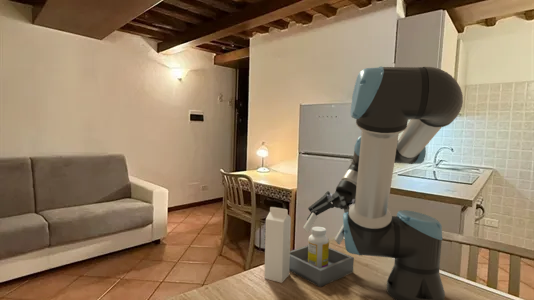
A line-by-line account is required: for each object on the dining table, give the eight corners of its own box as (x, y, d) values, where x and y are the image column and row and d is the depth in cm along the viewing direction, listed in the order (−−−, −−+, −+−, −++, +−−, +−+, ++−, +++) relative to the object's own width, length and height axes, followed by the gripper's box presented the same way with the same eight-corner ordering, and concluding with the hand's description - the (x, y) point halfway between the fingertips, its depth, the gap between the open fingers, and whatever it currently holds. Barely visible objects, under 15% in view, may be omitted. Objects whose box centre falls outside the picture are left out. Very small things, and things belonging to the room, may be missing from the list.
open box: (353, 272, 106) (353, 257, 106) (319, 287, 96) (320, 270, 96) (316, 255, 119) (317, 242, 118) (283, 267, 109) (284, 252, 108)
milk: (272, 270, 106) (274, 204, 104) (289, 275, 104) (291, 207, 102) (264, 278, 101) (265, 208, 99) (282, 283, 98) (283, 211, 96)
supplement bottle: (327, 262, 111) (328, 225, 109) (328, 271, 104) (330, 232, 103) (307, 261, 111) (308, 224, 110) (307, 270, 105) (309, 231, 104)
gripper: (386, 199, 108) (357, 253, 100) (327, 186, 127) (299, 231, 119) (377, 185, 104) (347, 241, 96) (318, 174, 123) (288, 220, 115)
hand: (320, 235), depth 107 cm, fingers open, 13 cm apart
